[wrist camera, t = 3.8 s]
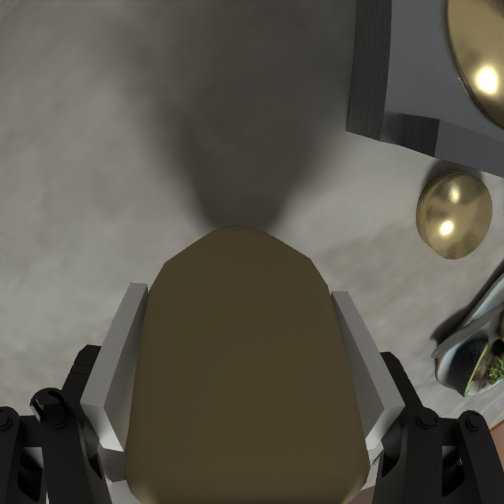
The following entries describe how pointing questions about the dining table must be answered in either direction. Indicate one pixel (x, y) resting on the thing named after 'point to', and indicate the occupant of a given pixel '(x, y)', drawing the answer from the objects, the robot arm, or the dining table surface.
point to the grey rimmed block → (431, 78)
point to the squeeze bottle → (243, 382)
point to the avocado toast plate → (475, 347)
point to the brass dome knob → (454, 214)
